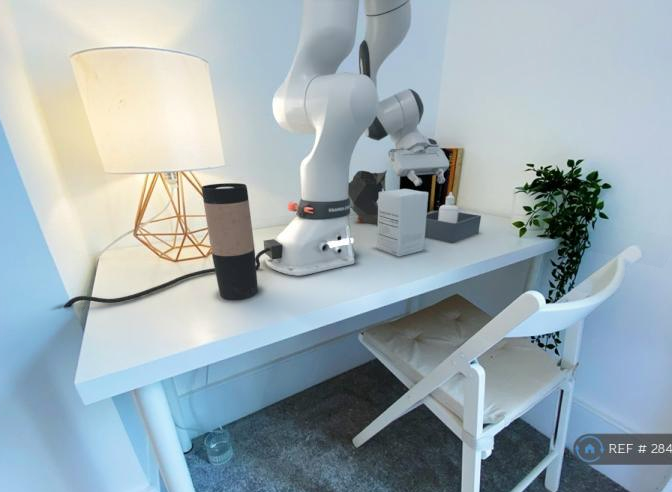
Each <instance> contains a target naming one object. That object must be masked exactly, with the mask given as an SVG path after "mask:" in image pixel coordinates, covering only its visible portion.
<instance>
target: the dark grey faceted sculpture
mask: <svg viewBox="0 0 672 492" xmlns="http://www.w3.org/2000/svg"><path fill="white" fill-rule="evenodd" d="M387 171H388V170H387V169H386V170H385V171H382V172H370V171H369V170H368V171H367V170H358V171H356V173H355V174H354V175H353V177H352V180H350V182H349V184H348V197H349V198H350V206H351V207H350V209H351V210H352V212H354V213H355V214H356V216H357V218H356V223H358V224H363V223H364V224H371V225H375V226H378V198H379V192H383V191H387V190H386V176H387V175H386V174H387Z"/></svg>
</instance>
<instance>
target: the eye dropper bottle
mask: <svg viewBox="0 0 672 492" xmlns="http://www.w3.org/2000/svg"><path fill="white" fill-rule="evenodd" d="M455 199H456V198H455V196H454V195H453V191H450V192H449V193H448V195H447V196H445V202H444V203H445V204H442V205H440V206H439V208H438V211H439V215H438V221H444V222H450V223H457V220H458V212H460V208H459V206H457V205H455Z"/></svg>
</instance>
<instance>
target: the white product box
mask: <svg viewBox="0 0 672 492" xmlns="http://www.w3.org/2000/svg"><path fill="white" fill-rule="evenodd" d="M428 202H429V192H428V191H423V190H422V191H420V190H416V189H415V190H414V189H410V188H401V189H400V188H399V189H391V190H386V191H384V190H382V192H379V198H378V200H377V205H378V225H377V231H376V237H377V238H376V249H378V250H380V251H382V252H385V253H388V254H390V255H393V256H395V257H399V258H400V257H403V256H407V255H411V254H414V253H415V254H416V253H419V252H422V251H425V240H426V237H425V228H426V216H427V214H428V205H429V204H428Z"/></svg>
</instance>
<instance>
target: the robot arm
mask: <svg viewBox="0 0 672 492" xmlns="http://www.w3.org/2000/svg"><path fill="white" fill-rule="evenodd" d="M302 2H303V3H302V12H301V13H302V16H301V25H300V35H299V40H298V45H297V49H296V51H295V56H294V57H293V61H292V64H291V66H290V68H289V71H288V73H287V75H286V76H285V79H284V81H283V82H282V83H281V85H280V86H279V87H278V88H277V89H276V91H275V93H274V95H273V98H272V113H273V116H274V119H275V121H276V123H277V125H278V126H279V127H280V128H281V129H283V130H284V131H286V132H289V133H293V134H298V135H315V140H314V145H313V147H312V149H311V152H310V153H309V154H308V155H306V157H304V158H303V159H302V161H301V164H300V167H299V175H300V190H301V191H300V192H301V198H300V199H299V202H298V203H296V202H293V201H290V202H288V203H287V206H286V207H287V210H288V211H289V212H294V213H295V214H296V217H294V218H293V219H292V220H291V221H290V222H289V224H288V225H287V226H286V227H284V229H283V230H282V231H281V232H280V233H279V234H278V235H277V237H276V239H274V238H273V239H265V240H263V249H262V250H260V251H259V252H258V253H256V254H255V261H256V271H257V270H258V269H260V267H261V262H260V257H261V256H263V255H264V254H265V255H266V256H267V257H266V258H265V264H266V266H268V268H270V269H272V270H274V271H276V272H279V273H282V274H284V275H290V276H297V277H298V276H299V277H302V276H306V275H311V274H316V273H319V272H324V271H328V270H329V271H330V270H333V269H337V268H342V267H346V266H350V265H354V264H355V263H356V261H355V256H356V253H355V250H354V247H353V243H354V238H353V237H352V233H351V225H350V214H351V208H350V207H351V206H350V198H349V197H348V184H349V183H350V182H349V181H350V166H351V160H352V157H353V153H354V150H355V149H356V145H357V143H358V141H359V140H360V138H361V136H362V135H363V134H365V136H366V137H367V138H369V139H371V140H373V141H377V142H379V141H381V140H382V139H384V138H387V137H388V136H389V138H390V139H391V141H392V142H393V143H394V144H395V145H394V146H395V148H390V150H389V151H388V153H387V156H388V157H389V159H390V163H391V167H392V169H393V172H394V174H395V175H396V176H397V177H407V178H408V180H410V181H411V182H413V184H414V185H415V187H418V186H421V185H422V184H423V179H422V178H421V177H418V176H423V175H424V176H425V175H436V176H437V179H436V182H437V183H438V184H439V185H442V184H444V183H445V182H446V178H445V177H444V173H445V172H446V171H447V170H448V169H449V167H450V161H449V159H448V158H447V156H446V154H445V152H444V151H443V149H442V148H440V147H439V146H440V143H439V141H438V140H437V139H433V138H430V137H427V136H425V135H423V134H422V132H420V130H419V129H418V125H420V123H421V121H422V117H423V115H424V112H425V111H424V109H425V108H424V103H423V100H422V99H421V96H420V95H419V93H418V92H416V91H415V90H413V89H411V88H407V89H404V90H401V91H398V92H397V93H395V94H393V95H391V96H388V97H387V98H384V99H382V100H379V93H378V87H377V83H378V82H377V77H378V72H379V70H380V67H381V66H382V65H383V63H384V62H385V61H386V59H388V57H389V56H390V55H391V54H392V53H393V52H394V51H395V50H396V49H398V47H399V46H401V44H402V43H403V41H404V40H405V38H406V37H407V35H408V33H409V30H410V28H411V23H412V8H411V7H412V5H411V0H362V4H363V9H364V14H365V32H364V37H363V39H362V42H361V43H360V44H359V46H358V47H359V48H358V71H359V73H357V72H348V71H346V72H345V71H344V72H337V71H338V70H339V68H340V66H341V64H342V63H343V62H344V60H346V59H347V58H348V57H349V56H350V54H351V53H352V51H353V49H354V47H355V43H356V38H357V28H358V27H357V26H358V15H359V6H360V0H303V1H302ZM209 273H216V272H215V267H212V268H206V269H202V270H197V271H194V272H189V273H186V274H184V275H180V276H178V277H176V278H174V279H172V280H170V281H167V282H164V283H162V284H159V285H156V286H153V287H151V288H147V289H146V290H142V291H139V292H136V293H133V294H129V295H125V296H121V297H114V298H105V297H104V298H103V297H97V296H96V297H95V296H89V295H78V296H75V297H73V298H71V299H69V300H68V301H67V302H66V303H65V304H64V306H63V308H70V307H71V306H72V305H73V304H75V303H77V302H80V301H87V302H95V303H102V304H116V303H122V302H126V301H131V300H134V299H137V298H140V297H143V296H147V295H148V294H151V293H154V292H156V291H160V290H162V289H166V288H167V287H170V286H172V285H174V284H176V283H178V282H181V281H183V280H186V279H189V278H193V277H196V276H199V275H204V274H209Z"/></svg>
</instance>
